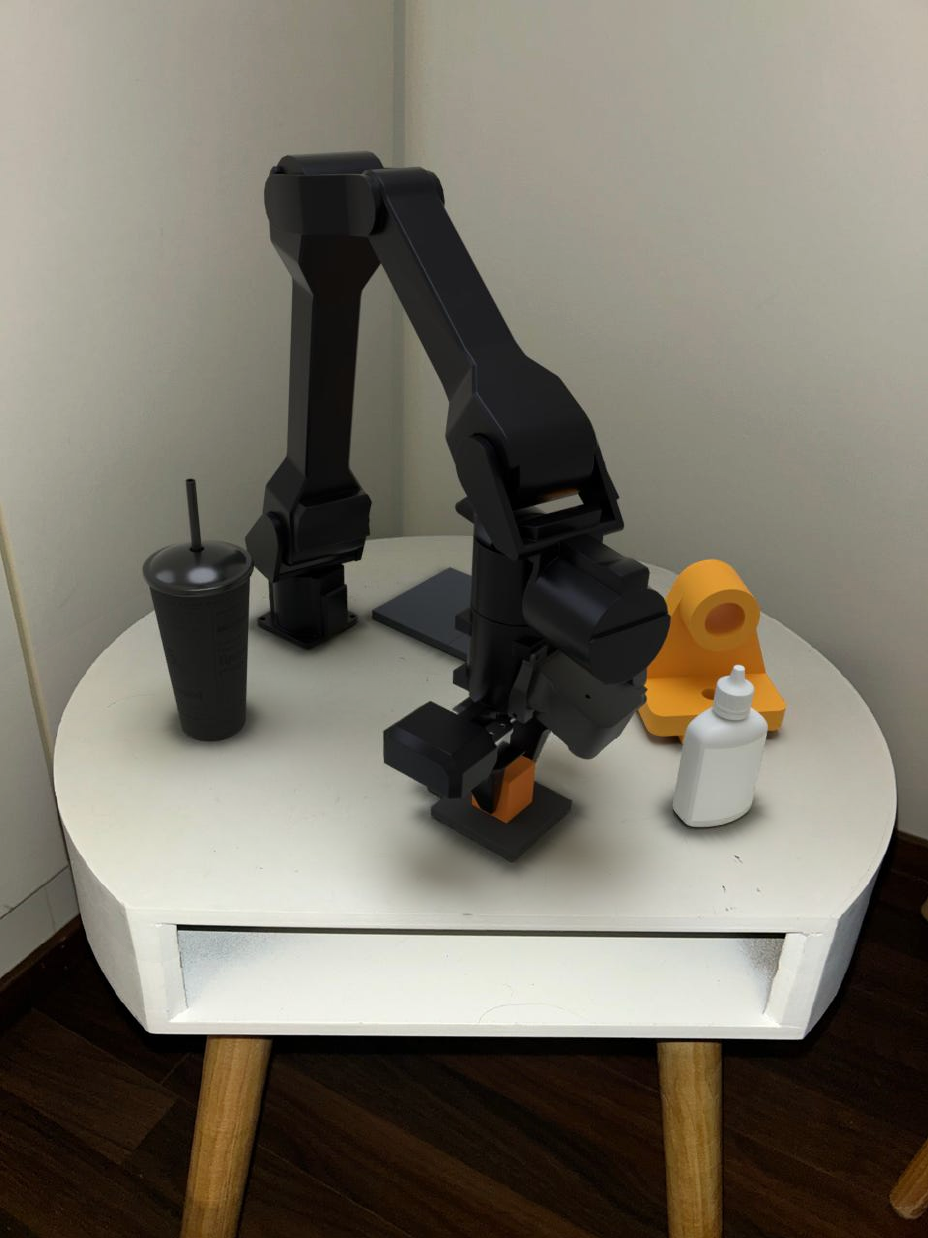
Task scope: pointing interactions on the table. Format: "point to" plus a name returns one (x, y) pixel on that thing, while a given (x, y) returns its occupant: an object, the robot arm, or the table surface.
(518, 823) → the black pad
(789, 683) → the table surface
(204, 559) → the drinking cup
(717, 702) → the eye dropper bottle
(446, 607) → the charcoal pad
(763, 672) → the bracket
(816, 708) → the table surface
